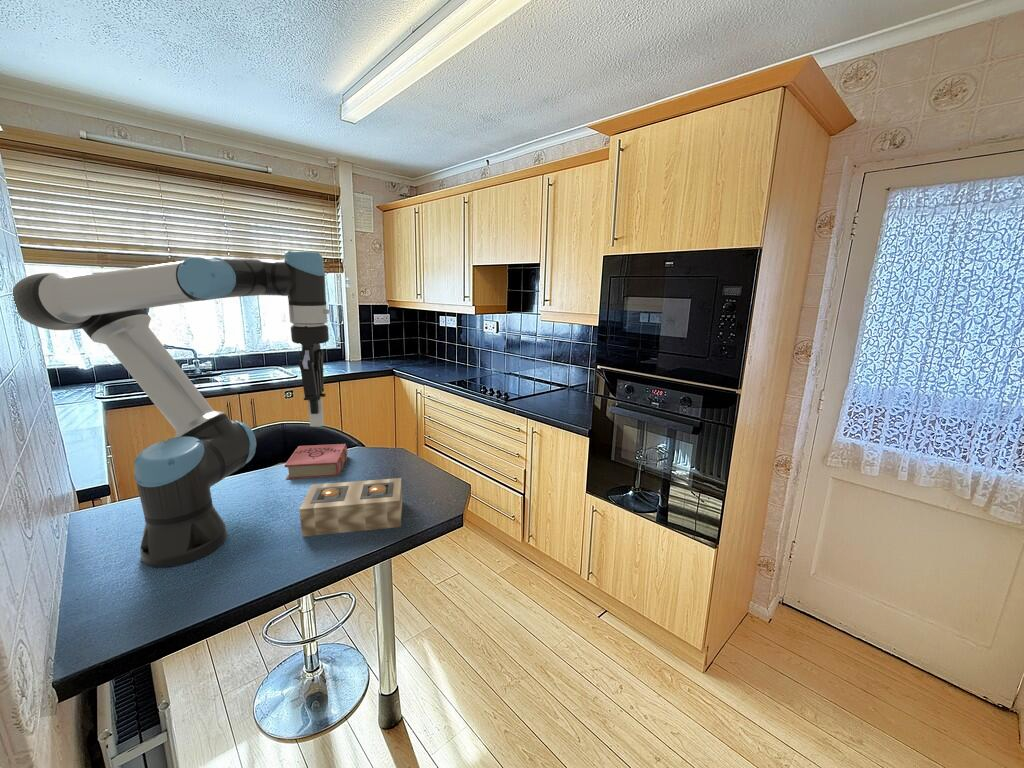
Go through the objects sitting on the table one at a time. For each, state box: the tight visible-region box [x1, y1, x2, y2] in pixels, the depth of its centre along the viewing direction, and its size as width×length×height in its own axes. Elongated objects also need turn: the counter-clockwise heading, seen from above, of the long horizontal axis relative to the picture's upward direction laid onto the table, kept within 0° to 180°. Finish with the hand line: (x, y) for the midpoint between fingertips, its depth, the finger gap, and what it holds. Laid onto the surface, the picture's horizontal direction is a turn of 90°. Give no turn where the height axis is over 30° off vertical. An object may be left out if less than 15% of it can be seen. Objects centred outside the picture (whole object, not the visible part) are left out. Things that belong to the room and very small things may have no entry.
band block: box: [299, 477, 403, 538], centre depth 106 cm, size 22×12×7 cm, turn 102°
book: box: [283, 443, 348, 480], centre depth 134 cm, size 14×15×5 cm
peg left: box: [321, 488, 340, 500], centre depth 105 cm, size 4×4×7 cm
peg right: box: [369, 485, 386, 496], centre depth 107 cm, size 4×4×7 cm
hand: (317, 425), depth 101 cm, fingers closed
